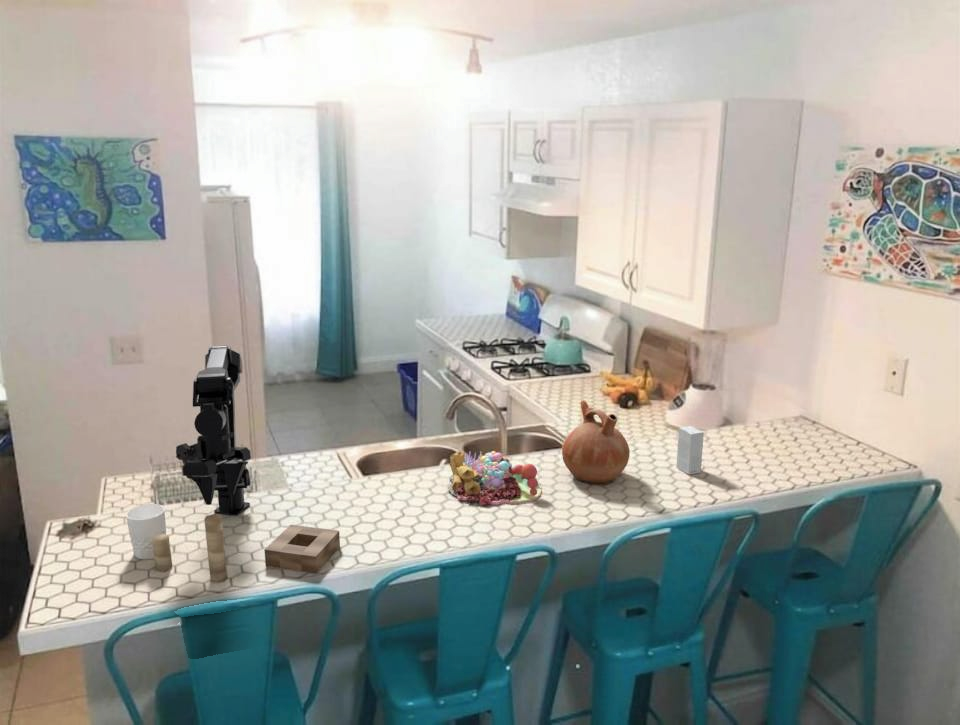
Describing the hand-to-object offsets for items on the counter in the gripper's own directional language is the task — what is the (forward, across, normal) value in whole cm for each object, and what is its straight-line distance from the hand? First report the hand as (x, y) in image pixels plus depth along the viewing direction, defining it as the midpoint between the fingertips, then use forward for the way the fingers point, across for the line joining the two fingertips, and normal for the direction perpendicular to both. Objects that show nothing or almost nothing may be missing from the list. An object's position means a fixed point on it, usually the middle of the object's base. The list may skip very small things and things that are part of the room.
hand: (220, 499), depth 178 cm
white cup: (+12, +3, -16) cm, 20 cm away
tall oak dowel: (+14, +10, +5) cm, 18 cm away
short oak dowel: (+13, +8, -9) cm, 18 cm away
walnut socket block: (+13, -3, +18) cm, 22 cm away
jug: (+8, -61, +77) cm, 98 cm away
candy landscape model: (+8, -48, +51) cm, 71 cm away
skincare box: (+8, -71, +102) cm, 125 cm away
